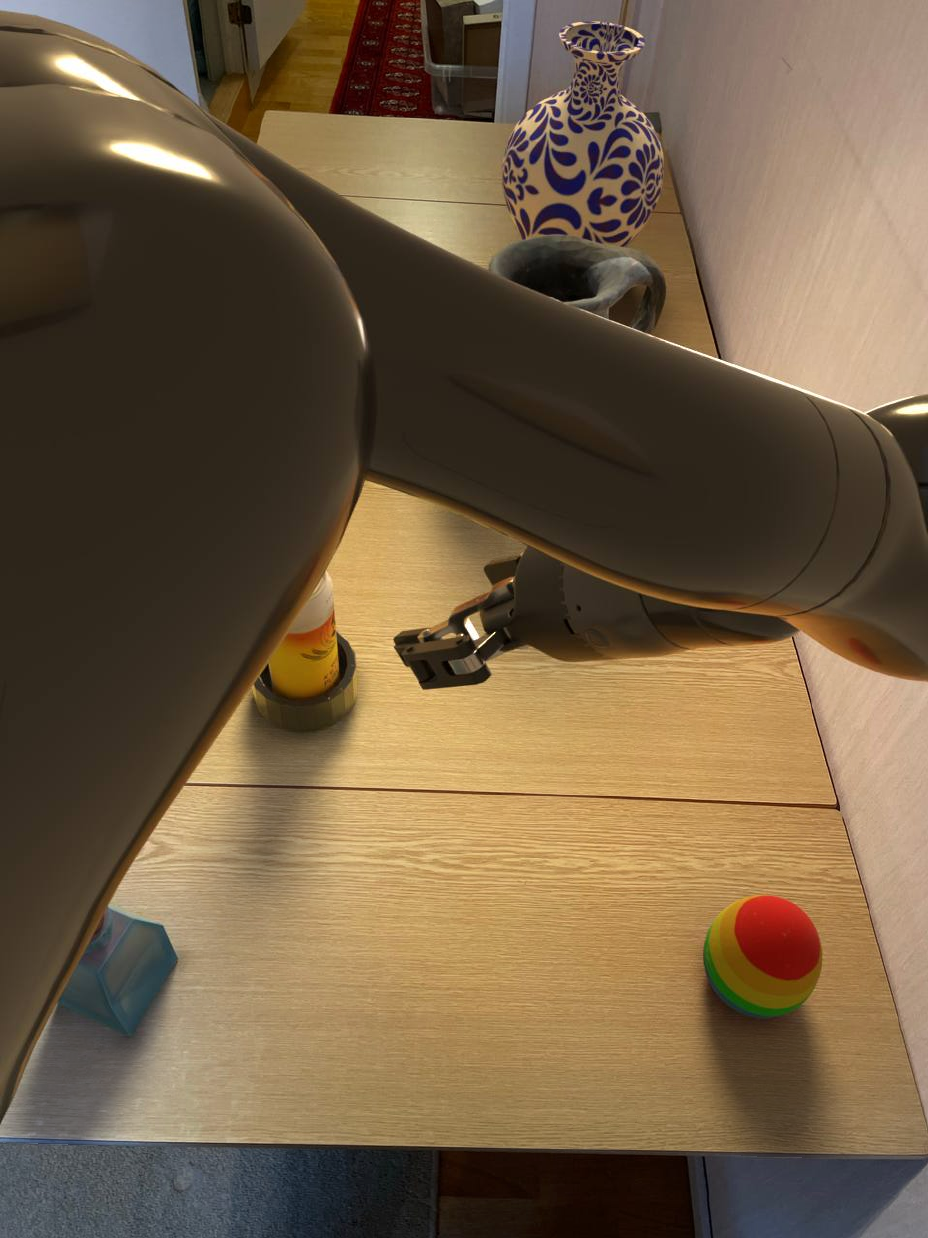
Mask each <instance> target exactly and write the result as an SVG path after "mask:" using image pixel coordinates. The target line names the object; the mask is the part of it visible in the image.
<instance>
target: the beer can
mask: <svg viewBox="0 0 928 1238" xmlns="http://www.w3.org/2000/svg"><path fill="white" fill-rule="evenodd" d="M333 585H334V584H333V580H332V578H331V576H330V574H329V573H328V572H327V570H326V571H325V573H324V575H323V577H322V578H321V580H320V582H319V584H318V586H317V587H316V589H315V591H314V592H313V594H312V595H311V597H310V598H309V600H308V602H307V603H306V605H305V606H304V608H303V610H302V611H301V613H300V614H299V616H298V618H297V619H296V621H295V622H294V624H293V626H292V627H291V629H290V630H289V632H288V634H287V635H286V637H285V638H284V640H283V642H282V643H281V645H280V646H279V648H278V649H277V651H276V652H275V654H274V655H273V657H272V658H271V660H270V661H269V663H268V664H269V670H270V676H271V682H272V688H273V692H274V693H275V694H277V695H279V696H281V697H283V698H287V699H293V700H305V699H313V698H316V697H319V696H321V695H324V694H326V693H328V692H329V691H331V690H332V689H334V688H335V687H336V686H337V685H338V684H339V683H340V676H339V663H338V649H337V636H336V631H337V625H336V610H335V598H334V586H333Z"/></svg>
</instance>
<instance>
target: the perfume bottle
mask: <svg viewBox="0 0 928 1238" xmlns="http://www.w3.org/2000/svg"><path fill="white" fill-rule="evenodd" d="M178 960H179V957H178V955H177V953H176V951H175V948H174V946H173V944H172V942H171V940H170V936H169V935H168V932H167V931H166V929H165V926H164V925H163V924H161V923H159V922H156V921H154V920H152V919H150V918H147V917H145V916H143V915H141V914H138V913H136V912H133V911H131V910H129V909H126V908H125V907H122V906H120V905H117V904H115V903H113V902H110V903H109V905H108V907H107V909H106V911H105V913H104V915H103V917H102V919H101V921H100V923H99V925H98V927H97V929H96V931H95V933H94V935H93V937H92V939H91V941H90V942H89V944H88V946H87V948H86V950H85V952H84V954H83V956H82V958H81V960H80V962H79V963H78V965H77V967H76V969H75V971H74V973H73V975H72V977H71V979H70V980H69V982H68V984H67V986H66V988H65V990H64V991H63V993H62V995H61V997H60V999H59V1001H58V1003H57V1004H56V1005H59V1006H62V1007H64V1008H66V1009H68V1010H70V1011H72V1012H75V1013H76V1014H79V1015H81V1016H83V1017H85V1018H87V1019H89V1020H92V1021H94V1022H96V1023H99V1024H101V1025H103V1026H105V1027H107V1028H109V1029H111V1030H114V1031H116V1032H118V1033H119V1034H122V1035H124V1036H126V1037H129V1038H132V1036H133V1035H134V1033H135V1031H136V1030H137V1028H138V1026H139V1025H140V1023H141V1021H142V1019H144V1016H145V1014H146V1013H147V1011H148V1010H149V1009H150V1007H151V1005H152V1003H153V1002H154V1000H155V998H156V997H157V994H158V993H159V992H160V990H161V988H162V986H163V985H164V983H165V981H166V980H167V978H168V976H169V975H170V973H171V971H172V970H173V968H174V966H175V965H176V963H177V961H178Z"/></svg>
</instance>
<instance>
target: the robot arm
mask: <svg viewBox="0 0 928 1238" xmlns="http://www.w3.org/2000/svg"><path fill="white" fill-rule="evenodd" d="M608 319H609V318H608ZM608 319H605V318H603V317H600V316H598V315H595V314H592V313H590V312H587V311H585V310H582V309H579V308H577V307H574V306H572V305H569V304H567V303H564V302H561V301H559V300H556V299H554V298H551V297H549V296H547V295H544V294H542V293H539V292H537V291H534V290H532V289H530V288H527V287H525V286H522V285H520V284H517V283H515V282H513V281H511V280H508V279H506V278H504V277H502V276H500V275H498V274H495V273H493V272H491V271H489V270H488V269H487V268H484V267H482V266H481V265H478V264H475V263H473V262H472V261H469V260H467V259H466V258H463V257H461V256H459V255H457V254H455V253H452V252H451V251H449V250H447V249H444V248H442V247H440V246H438V245H437V244H435V243H433V242H431V241H428V240H426V239H424V238H422V237H421V236H418V235H416V234H415V233H412V232H410V231H408V230H406V229H404V228H402V227H400V226H398V225H397V224H394V223H393V222H391V221H389V220H388V219H385V218H383V217H381V216H379V215H377V214H376V213H374V212H372V211H370V210H368V209H366V208H365V207H362V206H360V205H359V204H357V203H355V202H353V201H351V200H349V199H348V198H346V197H344V196H342V195H341V194H339V193H338V192H336V191H334V190H333V189H331V188H329V187H327V186H326V185H324V184H322V183H321V182H319V181H318V180H316V179H314V178H313V177H311V176H309V175H307V174H306V173H304V172H303V171H301V170H299V169H297V168H296V167H294V166H292V165H291V164H290V163H288V162H286V161H285V160H283V159H281V158H280V157H278V156H277V155H275V154H273V153H272V152H270V151H269V150H267V149H265V148H264V147H262V146H261V145H259V144H257V143H256V142H255V141H253V140H251V139H249V138H248V137H246V136H245V135H244V134H242V133H240V132H238V131H237V130H235V129H234V128H232V127H230V126H229V125H228V124H226V123H224V122H223V121H221V120H220V119H218V118H217V117H215V116H213V114H210V113H209V112H207V111H205V109H203V107H201V106H200V105H199V104H198V103H196V102H195V101H194V100H193V99H191V97H189V96H188V95H187V94H186V93H184V92H183V91H182V90H181V89H179V88H178V87H177V86H176V85H175V84H173V83H172V82H171V81H170V80H169V79H167V78H166V77H165V76H163V74H161V73H160V72H159V71H157V69H155V68H154V67H152V66H150V65H148V64H147V63H145V62H143V61H142V60H140V59H138V58H137V57H135V56H134V55H132V54H131V53H129V52H127V51H126V50H124V49H122V48H120V47H118V46H117V45H114V44H113V43H111V42H108V41H106V40H105V39H104V38H103V39H102V37H99V36H98V35H97V36H96V35H94V34H93V33H89V32H87V31H84V30H82V29H79V28H77V27H75V26H72V25H70V24H67V23H63V22H60V21H56V20H54V19H50V18H47V17H43V16H39V15H36V14H32V13H31V14H30V13H25V12H24V13H22V12H18V11H17V12H16V11H10V10H3V9H0V1125H1V1124H2V1122H3V1120H4V1118H5V1116H6V1114H7V1112H8V1110H9V1108H10V1107H11V1105H12V1103H13V1101H14V1098H15V1096H16V1094H17V1091H18V1089H19V1086H20V1084H21V1080H22V1079H23V1076H24V1073H25V1071H26V1068H27V1065H28V1063H29V1061H30V1058H31V1056H32V1053H34V1049H35V1047H36V1045H37V1043H38V1042H39V1039H40V1037H41V1036H42V1033H43V1031H44V1029H45V1027H46V1026H47V1023H48V1022H49V1019H50V1017H51V1016H52V1014H53V1012H54V1010H55V1008H56V1006H57V1005H58V1004H57V1003H58V1001H59V999H60V997H61V995H62V993H63V991H64V990H65V988H66V986H67V984H68V982H69V980H70V979H71V977H72V975H73V973H74V971H75V969H76V967H77V965H78V963H79V962H80V960H81V958H82V956H83V954H84V952H85V950H86V948H87V946H88V944H89V942H90V941H91V939H92V937H93V935H94V933H95V931H96V929H97V927H98V925H99V923H100V921H101V919H102V917H103V915H104V913H105V911H106V909H107V907H108V905H109V903H111V901H112V899H113V897H114V896H115V894H116V892H117V890H118V888H119V886H120V885H121V883H122V881H123V880H124V879H125V876H126V875H127V873H128V871H129V870H130V869H131V866H132V865H133V863H134V862H135V861H136V858H137V857H138V855H139V854H140V852H141V851H142V849H143V847H144V846H145V845H146V844H147V842H148V840H149V839H150V838H151V836H152V834H153V833H154V831H155V830H156V828H157V827H158V825H159V824H160V822H161V821H162V819H163V817H164V816H165V815H166V813H167V811H168V810H169V809H170V807H171V805H172V804H173V803H174V801H175V800H176V798H178V795H179V794H180V793H181V791H182V790H183V788H184V787H185V786H186V784H187V782H188V781H189V779H190V778H191V777H192V775H193V774H194V772H195V771H196V769H197V768H198V766H199V765H200V763H201V762H202V760H203V759H204V758H205V756H206V755H207V753H208V752H209V750H210V749H211V747H212V746H213V744H214V743H215V741H216V740H217V739H218V737H219V736H220V734H221V733H222V731H223V730H224V729H225V727H226V726H227V724H228V722H229V721H230V720H231V718H232V717H233V715H234V714H235V712H236V711H237V709H238V708H239V706H240V705H241V704H242V702H243V701H244V699H245V698H246V696H247V695H248V693H249V692H250V690H252V686H253V684H254V683H255V682H256V680H257V679H258V677H259V676H260V674H261V673H262V671H263V670H264V668H265V667H266V665H267V664H268V663H269V661H270V660H271V658H272V657H273V655H274V654H275V652H276V651H277V649H278V648H279V646H280V645H281V643H282V642H283V640H284V638H285V637H286V635H287V634H288V632H289V630H290V629H291V627H292V626H293V624H294V622H295V621H296V619H297V618H298V616H299V614H300V613H301V611H302V610H303V608H304V606H305V605H306V603H307V602H308V600H309V598H310V597H311V595H312V594H313V592H314V591H315V589H316V587H317V586H318V584H319V582H320V580H321V578H322V577H323V575H324V573H325V571H326V572H327V569H328V567H329V565H330V564H331V562H332V560H333V558H334V557H335V554H336V552H337V551H338V549H339V548H340V545H341V543H342V541H343V538H344V536H345V533H346V531H347V528H348V526H349V523H350V521H351V519H352V517H353V514H354V511H355V509H356V507H357V504H358V502H359V499H360V497H361V494H362V491H363V488H364V485H365V483H366V482H369V483H373V484H376V485H379V486H382V487H386V488H388V489H391V490H394V491H397V492H401V493H403V494H405V495H408V496H412V497H415V498H417V499H419V500H423V501H425V502H428V503H430V504H433V505H434V506H438V507H440V508H443V509H444V510H447V511H450V512H452V513H454V514H456V515H459V516H461V517H464V518H466V519H468V520H471V521H473V522H475V523H476V524H479V525H481V526H484V527H485V528H488V529H489V530H492V531H495V532H496V533H499V534H500V535H503V536H505V537H507V538H509V539H511V540H513V541H516V542H517V543H520V544H522V545H524V546H526V547H525V548H524V550H523V551H522V552H521V553H520V554H516V555H512V556H511V555H510V556H507V557H502V558H498V559H493V560H491V561H490V562H488V563H487V564H486V565H485V566H483V572H484V574H485V576H486V577H487V579H488V581H489V582H490V584H491V588H490V590H489V591H486V592H485V593H483V594H480V595H478V596H476V597H474V598H471V599H470V600H468V601H465V602H463V603H461V604H459V605H457V606H455V607H454V608H453V609H452V611H451V613H450V615H449V618H447V620H444V621H442V622H440V623H437V624H435V625H434V626H431V627H422V628H415V629H407V630H402V631H400V632H399V633H398V634H397V635H395V636H394V637H393V640H392V641H393V643H394V646H393V649H394V650H395V652H396V653H397V655H398V657H399V658H400V660H401V661H402V663H403V665H404V666H405V667H406V668H410V670H411V671H412V673H413V675H414V676H415V678H416V680H417V681H418V684H419V686H420V687H421V690H423V691H425V690H427V691H428V690H436V689H448V688H457V687H458V688H459V687H467V686H468V687H469V686H477V685H480V684H483V683H486V682H487V681H488V680H489V678H490V677H491V676H492V674H493V673H492V671H491V669H490V667H489V666H488V664H487V662H488V661H490V660H493V659H496V658H497V657H500V656H502V655H504V654H507V653H508V652H513V651H515V650H519V651H520V650H521V651H524V650H526V649H529V648H530V647H531V648H534V649H536V650H537V651H539V652H541V653H543V654H544V655H547V656H548V657H549V658H552V659H555V660H557V661H560V662H564V663H584V662H585V663H586V662H600V661H617V660H632V659H634V660H635V659H649V658H659V657H666V656H671V655H675V654H680V653H684V652H687V651H692V650H701V649H714V648H715V649H716V648H729V647H743V646H744V647H746V646H747V647H748V646H760V645H769V644H774V643H779V642H784V641H785V640H788V639H791V638H792V637H794V636H796V635H798V634H799V633H800V632H802V633H804V634H805V635H806V636H808V637H809V638H811V639H812V640H814V641H815V642H817V643H818V644H820V646H822V647H824V648H826V649H827V650H829V651H830V652H832V653H833V654H835V655H838V656H839V657H841V658H843V659H845V660H846V661H848V662H851V663H852V664H855V665H857V666H858V667H859V666H860V667H862V668H864V669H866V670H869V671H872V672H875V673H877V674H881V675H885V676H887V677H893V678H894V679H895V678H896V679H899V680H900V679H901V680H906V681H912V682H919V683H920V682H921V683H928V393H923V394H918V395H913V396H912V395H911V396H909V397H908V396H907V397H904V398H900V399H897V400H894V401H891V402H888V403H885V404H883V405H880V406H878V407H875V408H873V409H870V410H868V411H865V412H863V411H861V410H858V409H856V408H854V407H851V406H848V405H846V404H844V403H841V402H838V401H836V400H832V399H830V398H827V397H824V396H822V395H819V394H816V393H814V392H811V391H809V390H806V389H803V388H800V387H798V386H795V385H792V384H790V383H787V382H785V381H781V380H779V379H776V378H773V377H770V376H768V375H764V374H761V373H759V372H756V371H754V370H751V369H747V368H744V367H742V366H740V365H736V364H733V363H730V362H727V361H724V360H722V359H719V358H716V357H713V356H710V355H707V354H705V353H702V352H699V351H696V350H693V349H691V348H688V347H685V346H682V345H679V344H676V343H674V342H672V341H668V340H665V339H663V338H659V337H656V336H655V335H652V334H651V335H649V334H646V333H643V332H641V331H638V330H635V329H632V328H630V327H628V325H624V324H622V323H619V322H616V321H613V320H611V319H609V320H608ZM477 613H479V618H480V621H481V625H482V628H483V631H484V632H485V633H484V634H483V635H482V636H479V633H478V632H477V630H476V628H475V626H474V625H473V623H472V622H471V620H470V618H469V617H470V616H472V615H475V614H477ZM450 634H454V635H455V637H450V638H449V637H448V638H443V637H445V636H447V635H450Z"/></svg>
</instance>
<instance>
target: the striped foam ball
mask: <svg viewBox="0 0 928 1238" xmlns="http://www.w3.org/2000/svg"><path fill="white" fill-rule="evenodd" d="M707 930H708V931H707V933H706V936H705V939H704V944H703V950H702V952H703V953H702V954H703V955H702V960H703V966H704V967H703V968H704V971H705V974H706V975H705V976H706V978H707V980H708V982H709V984H710V986H711V988H712V990H713V991H714V993H715V995H716V996H718V997H719V999H720V1000H721V1001H722V1002H723V1003H724V1004H725V1005H727V1006H728V1008H730V1009H732V1010H733V1011H735V1012H738V1013H739V1014H741V1015H744V1016H747V1017H750V1018H757V1019H775V1018H779V1017H782V1016H785V1015H787V1014H789V1013H790V1014H791V1012H793V1011H795V1010H797V1009H798V1008H799V1007H800V1006H802V1005H803V1004H804V1003H805V1002H806V1001H807V1000H808V998H810V996H811V995H812V993H813V992H814V990H815V988H816V987H817V984H818V982H819V979H820V976H821V973H822V969H823V968H822V967H823V948H822V946H823V945H822V941H821V937H820V935H819V932H818V930H817V928H816V925H815V924H814V922H813V920H812V919H811V918H810V916H809V915H808V914H807V913H806V912H805V910H803V909H802V908H801V907H800V906H798V905H797V904H795V903H793V902H792V901H790V900H788V899H786V898H782V897H780V896H776V895H771V894H757V895H750V896H747V897H746V896H745V897H743V898H741V899H738V900H736V901H734V902H732V903H731V904H729V905H728V906H727V907H725V908H724V909H722V910H721V912H720V913H719V914H718V915H717V916H716V917H715V918H714V920H713V921H712V923H711V924H710V926H709V928H708V929H707Z"/></svg>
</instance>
